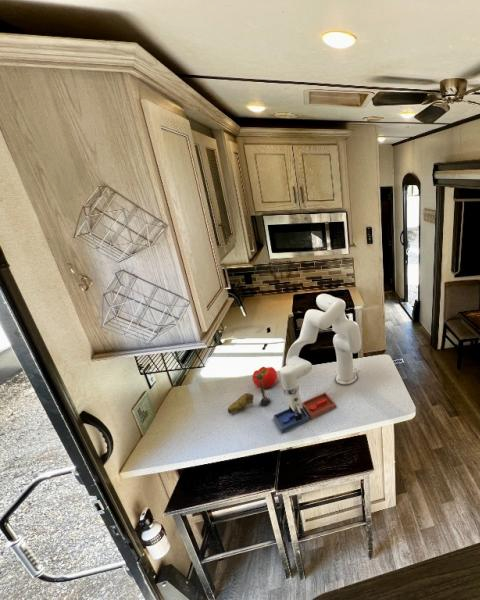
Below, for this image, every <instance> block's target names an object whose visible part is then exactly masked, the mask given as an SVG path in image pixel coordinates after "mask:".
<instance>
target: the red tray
mask: <svg viewBox="0 0 480 600" xmlns="http://www.w3.org/2000/svg"><path fill="white" fill-rule="evenodd" d="M325 398H326V400H327V404H325V405H323V406H321V407H319V408H317V409H316V410H315V411H311V410H310V406H311V405H316V403H317V402H319V401H321V400H323V399H325ZM301 402H302V408H303V409H304V411H305V412H306V413H307V415H308V416H309V419H310V420H313V419H315V418H317V417H319V416H321V415H323V414H325V413H327V412H329V411H331V410H333V409H335V408H336V406H337V405H336V402H335V401H334V400H333V399H332V398H331V397H330V396H329V395H328V393H327V392H323V393H320V394H318V395H316V396H313V397H311V398H309V399H307V400H305V401H301Z"/></svg>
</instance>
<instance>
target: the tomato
mask: <svg viewBox="0 0 480 600" xmlns="http://www.w3.org/2000/svg"><path fill="white" fill-rule="evenodd" d="M258 373H262V374H263V376H264V377H263V379H261V380H262V382H263V387H264V389H267V388H270V387H272V386H274V385H276V384H277V381H278V372H277V371H276V369H275V368H274V367H273V366H267V367H266V366H262V367H259V369H255V370H254V371H253V374H252V382H253V384H254V385H255V386H256V387H257V388H258V389H261V387H260V382H259V381H260V380H258V379H257V378H253V376H256V375H257V374H258Z"/></svg>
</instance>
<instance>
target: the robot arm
mask: <svg viewBox="0 0 480 600" xmlns="http://www.w3.org/2000/svg"><path fill="white" fill-rule="evenodd" d="M315 302H316V303H315V304H316V305H317V307H318V308H319V309H320V310H318V309H316V308H315V309H313V308H311V309H308V310H306V312H305V314H304V318H303V320H302V321H303V322H302V325H301V329H300V332H299V336H298V338H297V339H296V340H295V341H294V342H293V343H292V344H291V345H290V347H289V349H288V351H287V354H286V359H285V365H283V366H282V367H281V368H280V370H279V374H280V379H281V380H280V381H281V385H282V390H283V394H284V395H285V399H286V402H287V404H288V409H290V412H293V411H294V412H295V419H296V421H298V420H300V419H302V414H301V410H300V408H303V407H302V402H303V401H302V398H301V395H300V385H299V380H298V379H300V378H302V377H305V376H307V375H309V373H311V372H312V370H313V364H312V363H311V362H310V361H308V360H306V359H304V358H301V357H300V356H299V355H300V352H301V350H302V348H303V347H304V346H306V345H309V344H315V343H316V342H317V340H318V339H317V338H318V334H319V330H327V329H329V328H330V327H331V326H332V330H333V332H334V333H335V334H334V335H333V338H332V343H333V344H332V345H333V348H334V350H335V356H336V366H337V375H336V376H335V381H336V382H337V383H338V384H340V385H350V384H353V383H354V382H355V381H356V380H357V378H358V377H357V373H358V374H359V373H360V372H361V371H362V370H361V368H357V367H355V368H354V359H353V357H354V356H353V354H357V353H359V352H360V351H361V349H362V343H363V341H362V335H361V329H360V326H359V324H358V323H357V322H356V321H354V320H351V319H348V317H347V316H346V312H345V311H346V302H345V300H343V299H342V298H340V297H335V296H333V295H331V294H327V293H320V294H318V295H317V296H316V300H315ZM296 408H297V409H296ZM296 411H298V413H296Z"/></svg>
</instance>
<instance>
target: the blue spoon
mask: <svg viewBox="0 0 480 600" xmlns="http://www.w3.org/2000/svg"><path fill="white" fill-rule="evenodd" d="M296 413H298V411H297V412H296ZM288 417H289V418H288ZM288 417H285V418H283V419H282V423H283V424H287V423H289V421H291V420H293V419H295V412H294V413H292V414H290V415H288Z"/></svg>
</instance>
